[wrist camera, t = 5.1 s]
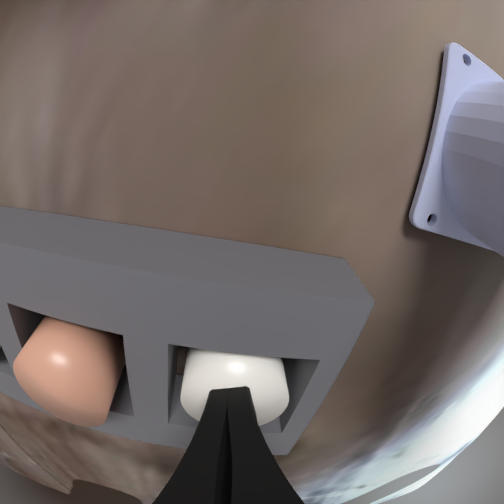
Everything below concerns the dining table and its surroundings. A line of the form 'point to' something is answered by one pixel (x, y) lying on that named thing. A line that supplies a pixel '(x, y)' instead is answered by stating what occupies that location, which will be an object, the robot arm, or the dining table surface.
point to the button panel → (178, 313)
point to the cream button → (234, 381)
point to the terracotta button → (71, 370)
